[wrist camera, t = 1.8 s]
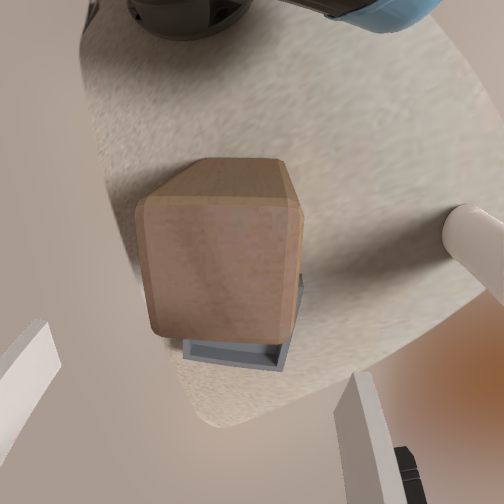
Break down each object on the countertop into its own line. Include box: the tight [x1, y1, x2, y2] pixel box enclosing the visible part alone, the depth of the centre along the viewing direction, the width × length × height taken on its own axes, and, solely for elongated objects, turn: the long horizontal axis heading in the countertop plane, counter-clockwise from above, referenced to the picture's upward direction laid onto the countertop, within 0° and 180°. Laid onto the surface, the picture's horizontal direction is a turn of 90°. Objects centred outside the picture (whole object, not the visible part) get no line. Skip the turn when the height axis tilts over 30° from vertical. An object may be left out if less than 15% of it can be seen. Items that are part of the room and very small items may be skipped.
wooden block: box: [134, 158, 304, 345], centre depth 27 cm, size 10×10×20 cm
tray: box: [183, 274, 304, 372], centre depth 41 cm, size 14×14×4 cm
